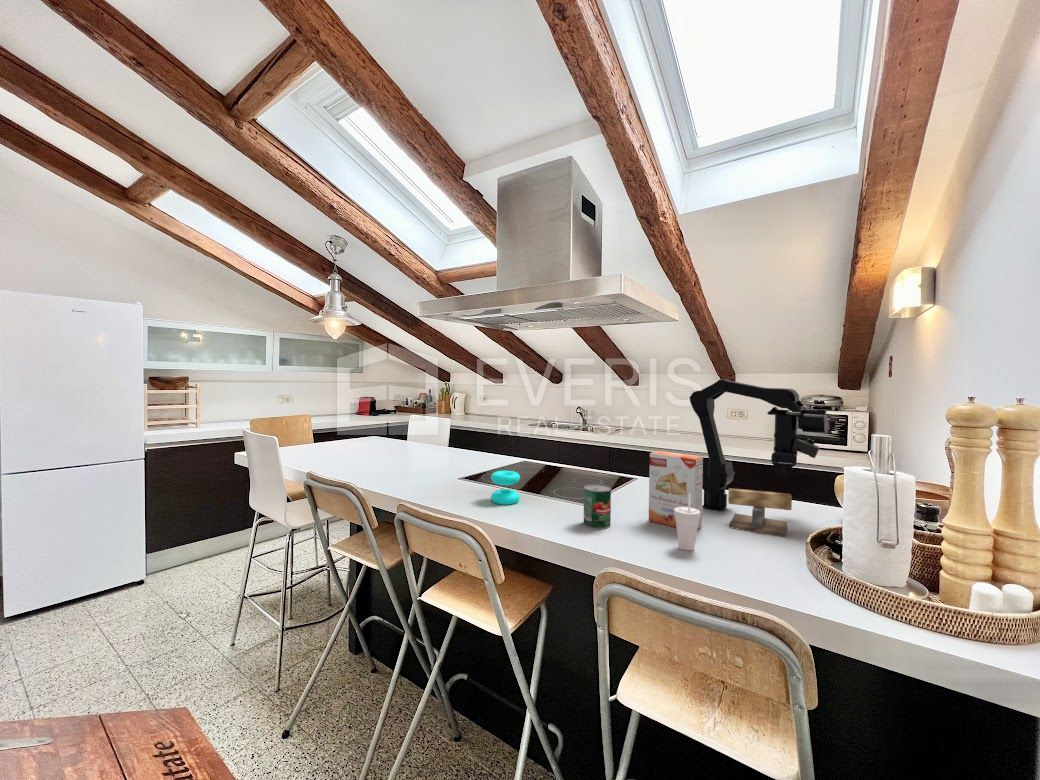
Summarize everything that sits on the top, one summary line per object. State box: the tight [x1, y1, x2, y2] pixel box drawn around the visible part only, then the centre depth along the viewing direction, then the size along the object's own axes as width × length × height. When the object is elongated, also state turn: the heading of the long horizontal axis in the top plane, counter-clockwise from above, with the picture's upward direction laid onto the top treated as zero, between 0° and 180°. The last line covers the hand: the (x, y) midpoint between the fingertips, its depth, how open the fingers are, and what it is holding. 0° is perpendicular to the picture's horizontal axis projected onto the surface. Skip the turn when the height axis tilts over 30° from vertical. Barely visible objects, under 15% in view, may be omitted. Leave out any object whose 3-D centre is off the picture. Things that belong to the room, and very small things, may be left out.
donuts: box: [490, 470, 521, 506], centre depth 154 cm, size 10×10×10 cm
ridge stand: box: [728, 506, 788, 538], centre depth 130 cm, size 14×12×6 cm
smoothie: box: [674, 493, 701, 551], centre depth 113 cm, size 6×6×14 cm
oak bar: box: [727, 487, 793, 511], centre depth 130 cm, size 16×3×4 cm, turn 68°
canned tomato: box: [583, 484, 612, 530], centre depth 130 cm, size 8×8×11 cm
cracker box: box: [648, 450, 704, 530], centre depth 131 cm, size 14×6×21 cm, turn 47°
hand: (784, 481), depth 134 cm, fingers open, 9 cm apart
